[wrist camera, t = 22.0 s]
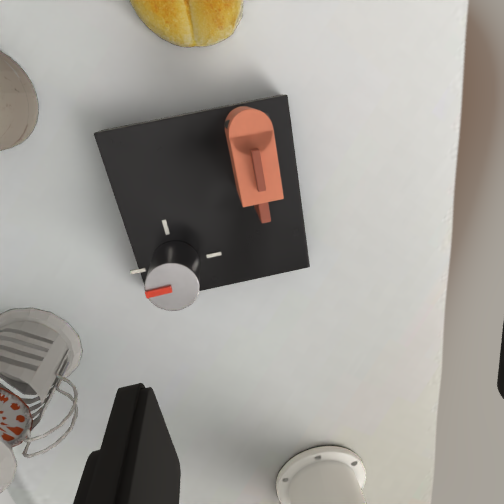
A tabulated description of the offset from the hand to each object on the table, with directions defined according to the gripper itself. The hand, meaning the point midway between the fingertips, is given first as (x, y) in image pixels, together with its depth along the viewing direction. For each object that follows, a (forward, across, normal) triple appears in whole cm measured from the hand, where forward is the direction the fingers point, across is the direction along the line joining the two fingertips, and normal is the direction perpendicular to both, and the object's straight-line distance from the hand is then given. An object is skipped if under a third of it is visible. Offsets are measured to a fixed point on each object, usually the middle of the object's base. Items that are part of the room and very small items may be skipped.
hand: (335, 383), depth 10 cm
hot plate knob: (+26, +7, +6) cm, 27 cm away
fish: (+26, -1, -2) cm, 26 cm away
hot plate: (+28, +3, +2) cm, 28 cm away
